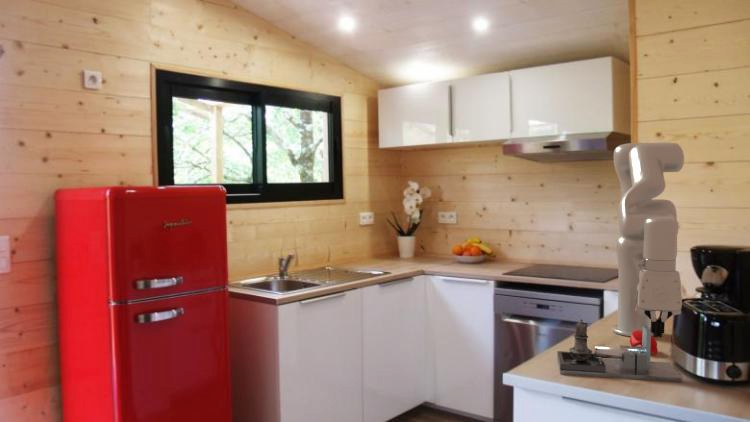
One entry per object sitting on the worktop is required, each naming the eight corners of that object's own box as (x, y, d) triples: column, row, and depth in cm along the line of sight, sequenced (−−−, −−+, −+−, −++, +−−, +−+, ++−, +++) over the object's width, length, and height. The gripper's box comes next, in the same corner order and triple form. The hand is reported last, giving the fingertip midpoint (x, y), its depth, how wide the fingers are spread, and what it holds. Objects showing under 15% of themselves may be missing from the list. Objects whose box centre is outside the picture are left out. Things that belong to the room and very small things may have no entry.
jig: (557, 359, 165) (557, 339, 165) (669, 366, 159) (669, 345, 159) (560, 373, 154) (560, 352, 153) (681, 382, 147) (682, 360, 147)
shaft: (593, 360, 160) (593, 323, 159) (645, 363, 157) (646, 325, 156) (595, 366, 155) (596, 328, 154) (649, 369, 152) (650, 330, 151)
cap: (622, 340, 172) (639, 333, 168) (630, 329, 176) (646, 322, 172) (640, 363, 171) (658, 357, 167) (647, 352, 175) (665, 345, 171)
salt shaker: (593, 368, 155) (594, 322, 154) (570, 366, 156) (570, 321, 155) (590, 360, 161) (591, 316, 160) (567, 359, 162) (568, 315, 161)
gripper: (630, 267, 151) (628, 338, 153) (695, 269, 148) (693, 341, 149) (625, 262, 158) (623, 330, 160) (687, 263, 155) (684, 333, 157)
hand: (657, 335), depth 155 cm, fingers closed
